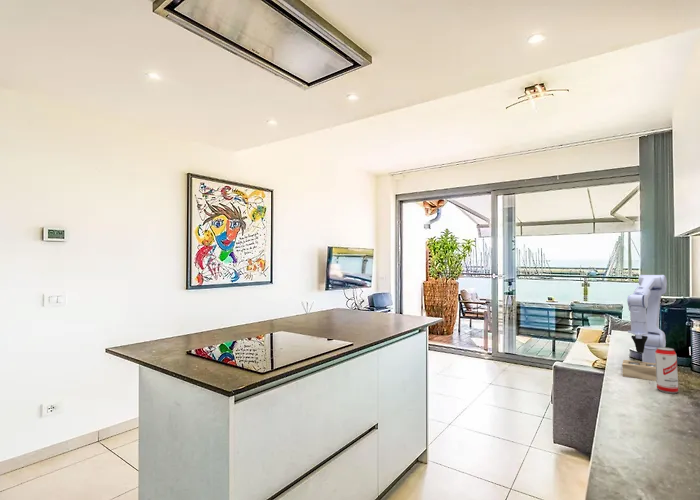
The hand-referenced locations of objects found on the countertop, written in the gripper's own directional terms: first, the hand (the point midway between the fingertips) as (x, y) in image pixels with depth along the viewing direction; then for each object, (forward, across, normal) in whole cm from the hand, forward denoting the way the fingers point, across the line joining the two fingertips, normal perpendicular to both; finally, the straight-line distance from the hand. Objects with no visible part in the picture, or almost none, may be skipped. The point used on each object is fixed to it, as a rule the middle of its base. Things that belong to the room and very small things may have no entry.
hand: (640, 352), depth 166 cm
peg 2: (+9, +4, +4) cm, 11 cm away
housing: (+9, +4, 0) cm, 10 cm away
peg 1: (+9, +4, -2) cm, 10 cm away
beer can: (+9, +23, +8) cm, 26 cm away
